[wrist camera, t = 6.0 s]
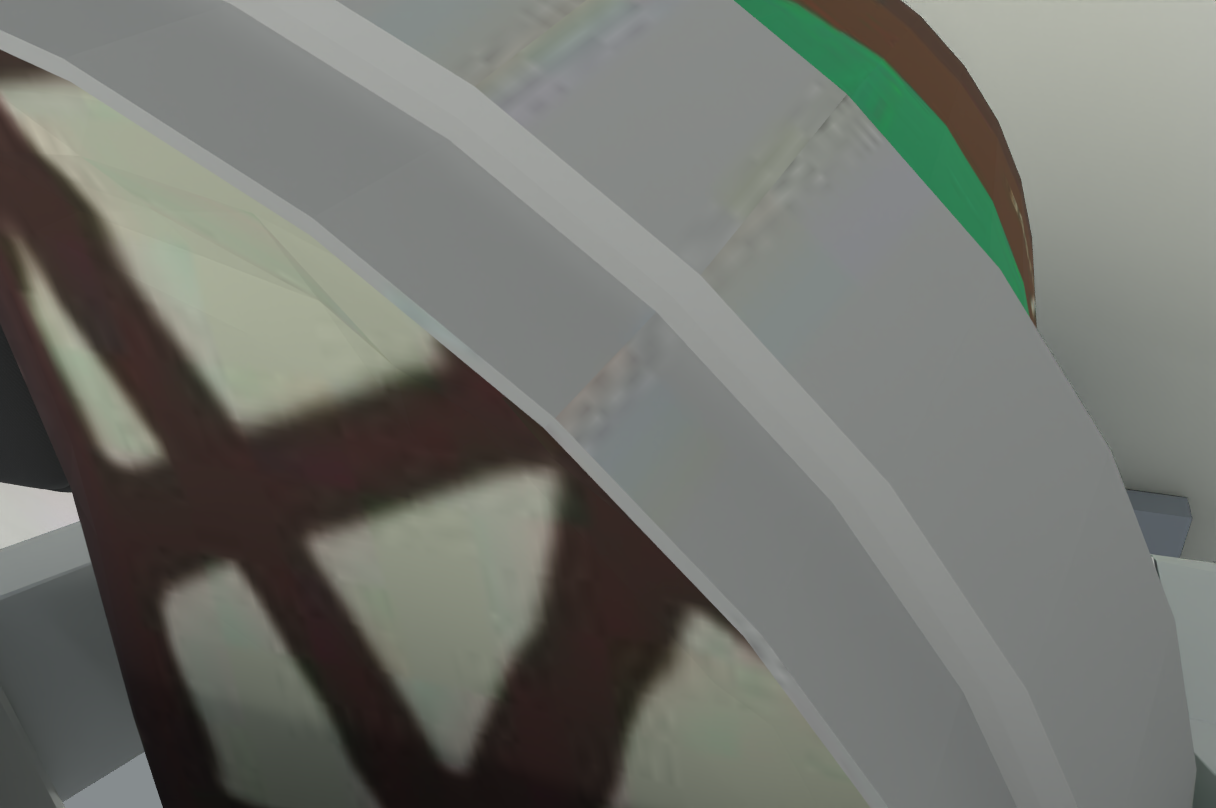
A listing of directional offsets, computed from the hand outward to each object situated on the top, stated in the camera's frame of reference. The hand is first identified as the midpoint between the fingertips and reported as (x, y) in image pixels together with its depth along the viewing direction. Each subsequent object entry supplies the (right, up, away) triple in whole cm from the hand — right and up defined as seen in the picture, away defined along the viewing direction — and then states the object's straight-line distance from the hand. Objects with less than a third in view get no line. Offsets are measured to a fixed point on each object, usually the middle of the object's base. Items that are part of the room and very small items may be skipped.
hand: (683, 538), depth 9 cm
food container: (+3, +3, +4) cm, 6 cm away
